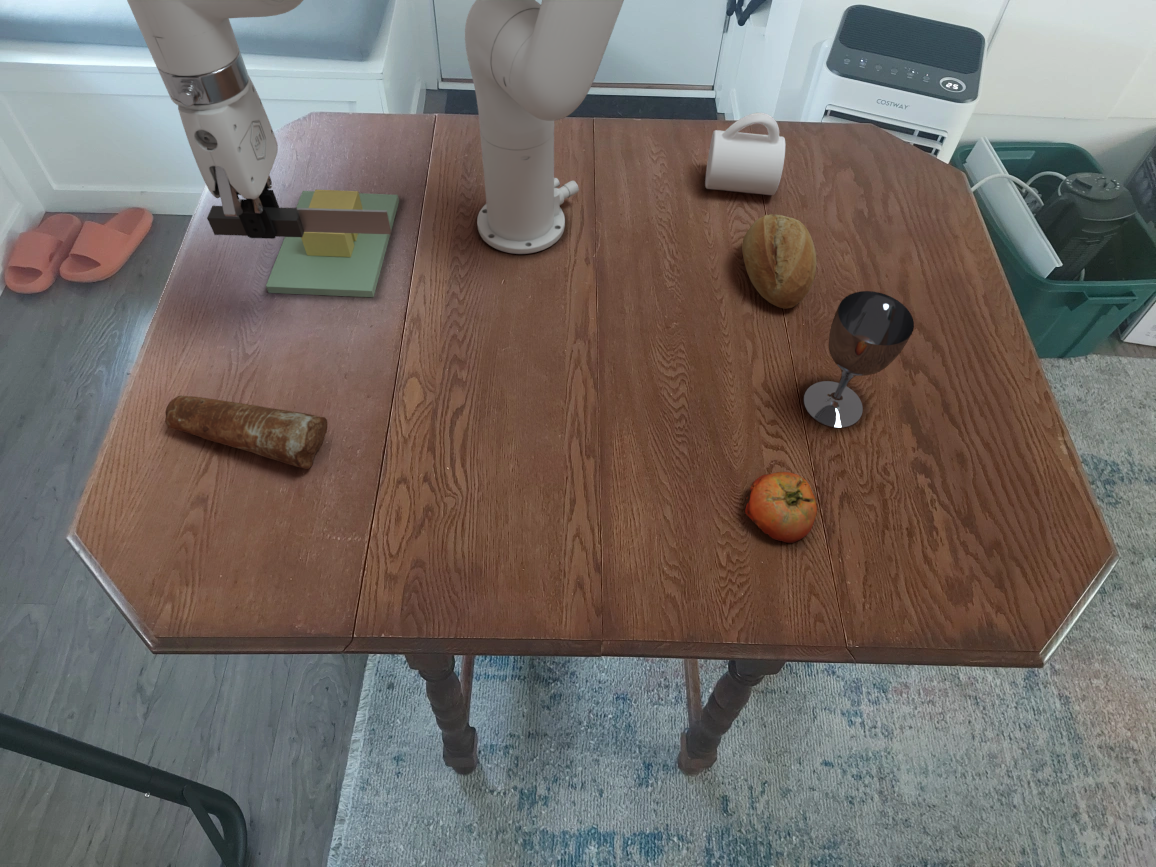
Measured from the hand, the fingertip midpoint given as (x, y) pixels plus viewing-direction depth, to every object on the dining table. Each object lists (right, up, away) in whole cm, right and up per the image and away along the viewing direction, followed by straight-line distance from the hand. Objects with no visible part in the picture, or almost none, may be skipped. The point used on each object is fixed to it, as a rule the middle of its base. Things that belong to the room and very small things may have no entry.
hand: (265, 227), depth 87 cm
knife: (+4, 0, 0) cm, 4 cm away
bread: (-2, -25, 0) cm, 25 cm away
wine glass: (+67, -20, +5) cm, 70 cm away
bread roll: (+63, -2, +18) cm, 65 cm away
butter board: (+2, +3, +19) cm, 20 cm away
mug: (+61, +14, +29) cm, 69 cm away
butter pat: (+2, +1, +17) cm, 17 cm away
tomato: (+58, -33, -4) cm, 67 cm away
